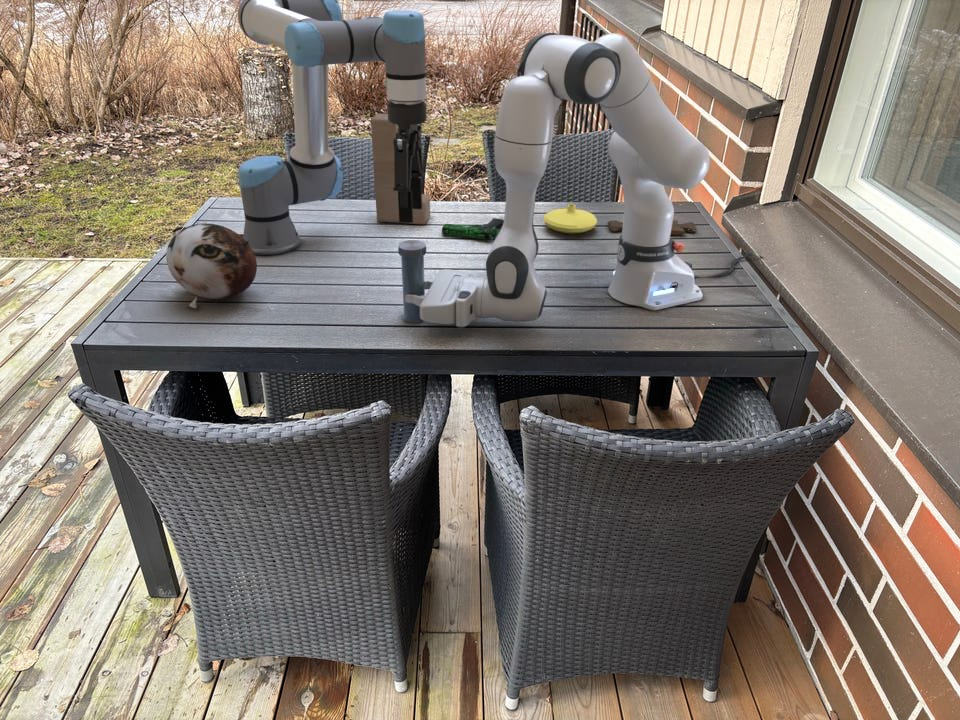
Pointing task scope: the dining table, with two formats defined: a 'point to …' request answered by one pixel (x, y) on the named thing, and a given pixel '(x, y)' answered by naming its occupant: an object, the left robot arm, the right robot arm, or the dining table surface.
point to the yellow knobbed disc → (570, 220)
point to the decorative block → (389, 174)
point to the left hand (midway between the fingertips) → (410, 214)
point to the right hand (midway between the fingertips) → (409, 291)
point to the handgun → (475, 230)
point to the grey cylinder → (412, 285)
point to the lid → (412, 249)
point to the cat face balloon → (211, 261)
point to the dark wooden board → (676, 229)
